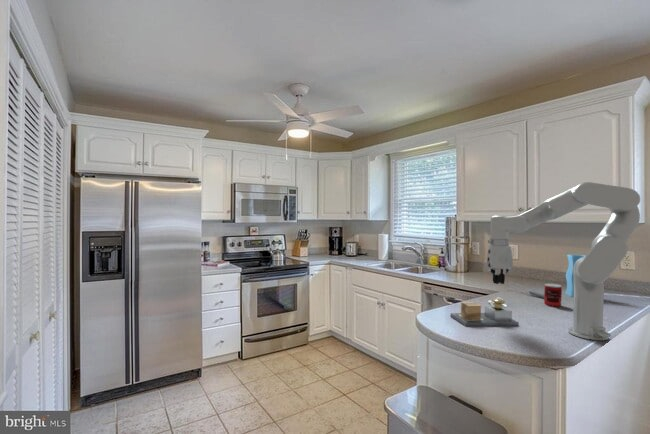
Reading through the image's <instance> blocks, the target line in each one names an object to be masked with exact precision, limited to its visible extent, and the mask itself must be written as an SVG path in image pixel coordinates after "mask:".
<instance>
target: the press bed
mask: <svg viewBox="0 0 650 434" xmlns="http://www.w3.org/2000/svg"><path fill="white" fill-rule="evenodd" d="M450 318H452V319H454V320H455V321H457V322H458V323H459V324H461V323H462V324H461V325H463V326H464V325H465V326H464V327H518V326H520V325H519V321H517V320H515V319H513V311H512V310H511V309H508V308H506V307H502V310H496V309H494V306H493V305H486V306H485V305H484V312H481V319H466V318H465V317H463V316H461V312H451V313H450Z"/></svg>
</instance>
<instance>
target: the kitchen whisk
mask: <svg viewBox="0 0 650 434" xmlns="http://www.w3.org/2000/svg"><path fill="white" fill-rule="evenodd" d="M512 284H513V285H514V286H513V285H512ZM505 285H506V286H505V288H507V290H508V291H509V292H510V291H512V292H514V291H517V290H515V289H514V288H515V285H516V286H519V287H520V288H518V291H520V293H523V290H521V287H522V289H524V290H525V289H526V291H527V294H529V295H532V296H534V297H538V298H542V299H544V293H543V292H540V291H535V290H532V289H528V288H527V287H526V286H523V285H521V284H519V282H518V283H517V282H512V281H509V282H507V283H506V284H505ZM510 287H511V288H513V289H511V288H510Z"/></svg>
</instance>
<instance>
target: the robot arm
mask: <svg viewBox="0 0 650 434" xmlns="http://www.w3.org/2000/svg"><path fill="white" fill-rule="evenodd" d="M640 202H641V196H640V194H639V192H638V191H636V190H635V189H633V188H629V187H624V186H618V185H610V184H603V183H597V182H590V181H585V182H582V183H579V184H578V185H575V186H574V187H571V188H570V189H567V190H566V191H563V192H561V193H559V194H557V195H555V196H553V197H550V198H548V199H546V200H545V201H543V202H541V203H540V204H538V205H537V206H535V207H533V208H531V209H529V210H527V211H525V212H523V213H521V214H518V215H512V216H506V215H492V217H490V235H489V238H490V239H489V240H487V244H490V245H488V248H487V253H486V266H485V270H487V271H489V272H490V273H491V275H492V283H493V284H496V285H498V284H501V285H505V279H506V277H505V276H506V275H507V273H509V272H510V271H512V270H513V266H514V265H513V264H514V263H513V262H514V261H513V259H514V257H513V252H512V251H513V250H512V246H510V233H512V232H513V233H516V234H521V233H524V232H526V231H527V230H530V229H532V228H535V227H536V226H539V225H541V224H543V223H546V222H548V221H552V220H556V219H558V218H561V217H563V216H565V215H568V214H569V213H571V212H574V211H576V210H579V209H580V208H583V207H586V206H587V205H591V206H596V207H601V208H607V209H609V211H610V217H609V219H608V220H607V221H606V223H605V225H604V226H603V228H602V229H601V231H600V232H599V233H598V235H597V236H596V237H595V238H594V239H593V240H592V241H591V245H590V246H591V249H590V250H589V252H587V254H586V255H585V256H586V257H582V258H580V259H578V260H577V261H576V262H575V264H574V268H573V275H574V298H573V304H572V305H573V307H572V308H573V309H572V311H573V312H572V326H571V327H569V328H567V332H568V333H569V334H571V335H573V336H575V337H578V338H581V339H586V340H590V339H591V341H607V340H609V338H610V337H612V334H611V333H610V332H607V331H606V327H604V300H605V285H604V284H605V283H604V282H606V280H608V279H609V277H610V276H611V275H612V274H613V273H614V271H615V270H616V269H617V268H618V267H619V265H620V264H621V262H623V260H624V259H625V257H626V255H627V253H628V250H629V249H628V248H629V247H628V246H629V245H628V244H627V242H628V241H629V240H630V238H631V237H632V235H633V233H634V232H635V231H636V230H637V228H638V226H639V224H640V223H639V222H640V219H641V217H640V215H641V214H640V209H639V207H638V206H639V204H640ZM498 270H499V271H498Z"/></svg>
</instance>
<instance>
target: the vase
mask: <svg viewBox="0 0 650 434" xmlns="http://www.w3.org/2000/svg"><path fill="white" fill-rule="evenodd" d="M586 256H587V255H583V254H567V255H566V257H567V259H568V268H567V271H566V273H565V279H566V280H565V281H566V291H565V295H566V294H567V295H566V296H568V295H569V296H571V297H570V298H572V297H574V275H573V268H574V264H575V262H576V261H577V260H578V259H580V258H582V257H586ZM569 296H568V297H569Z"/></svg>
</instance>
